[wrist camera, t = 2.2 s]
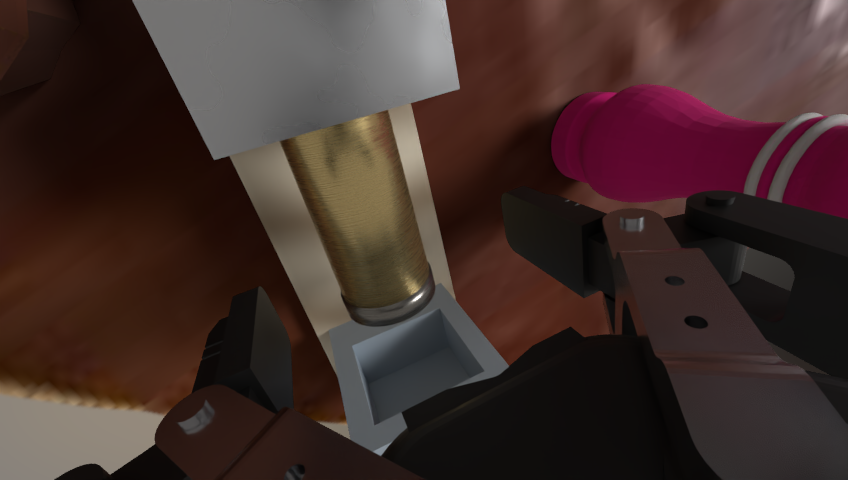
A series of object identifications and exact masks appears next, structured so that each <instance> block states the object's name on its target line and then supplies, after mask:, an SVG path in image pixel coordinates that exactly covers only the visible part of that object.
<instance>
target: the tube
mask: <svg viewBox="0 0 848 480" xmlns="http://www.w3.org/2000/svg"><path fill="white" fill-rule="evenodd" d="M279 142H280V145H281V147H282V149H283V152H284V154H285V157H286V159H287V161H288V164H289V166H290V169H291V171H292V174H293V176H294V178H295V181H296V183H297V186H298V188H299V190H300V193H301V195H302V198H303V200H304V203H305V205H306V207H307V210H308V212H309V215H310V217H311V219H312V222H313V224H314V227H315V229H316V232H317V234H318V236H319V239H320V241H321V244H322V246H323V249H324V251H325V253H326V256H327V258H328V261H329V263H330V265H331V268H332V270H333V273H334V275H335V278H336V280H337V282H338V285H339V287H340V290H341V298H342V300H343V302H344V305H345V307H346V310H347V312H348V314H349V316H350V318H351V319H352V320H353V321H355V322H356V323H358V324H361V325H364V326H370V327H382V326H389V325H393V324H397V323H400V322H402V321H405V320H407V319H409V318H411V317H413V316H414V315H416V314H418V313H419V312H420V311H422V310H423V309H424V308H425V307H426V306H427V305H428V304H429V303H430V301H431V300H432V298H433V296H434V293H435V288H436V286H435V281H434V277H433V273H432V269H431V266H430V264H429V262H428V261H427V258H426V254H425V250H424V246H423V243H422V239H421V235H420V231H419V227H418V223H417V219H416V216H415V212H414V208H413V204H412V200H411V196H410V192H409V189H408V185H407V181H406V177H405V173H404V169H403V165H402V162H401V158H400V154H399V150H398V146H397V142H396V138H395V135H394V131H393V127H392V123H391V119H390V115H389V111H388V110H385V111H382V112H378V113H375V114H371V115H368V116H364V117H361V118H357V119H354V120H351V121H347V122H344V123H340V124H337V125H333V126H330V127H327V128H323V129H320V130H316V131H313V132H309V133H306V134H302V135H299V136H296V137H292V138H289V139H285V140H282V141H279Z"/></svg>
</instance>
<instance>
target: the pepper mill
mask: <svg viewBox="0 0 848 480" xmlns="http://www.w3.org/2000/svg"><path fill="white" fill-rule="evenodd" d="M551 151H552V158H553V161H554V163H555V166H556V167H557V169H558V170H559V171H560V172H561V173H562V174H563V175H565V176H566V177H569V178H572V179H575V180H578V181H581V182H584V183H589V185H590V186H591V187H592V189H593V190H595V191H596V192H597V193H599V194H600V195H602V196H604V197H606V198H609V199H614V200H618V201H622V202H652V201H660V200H666V199H672V198H688V197H689V196H691V195H693V194H695V193H699V192H704V191H712V190H725V191H734V192H739V193H744V194H748V195H752V196H756V197H760V198H764V199H768V200H772V201H776V202H781V203H785V204H789V205H793V206H797V207H801V208H805V209H809V210H813V211H817V212H821V213H826V214H830V215H834V216H838V217H842V218H846V219H848V115H845V114H837V115H832V116H823V115H821V114H818V113H805V114H801V115H798V116H796V117H794V118H793V119H791V120H789V121H788V122H775V123H763V122H756V121H748V120H742V119H738V118H735V117H732V116H728V115H725V114H723V113H721V112H719V111H717V110H715V109H713V108H711V107H710V106H708V105H706V104H705V103H703V102H701V101H700V100H698V99H696V98H695V97H693V96H691V95H689V94H687V93H685V92H682V91H679V90H677V89H674V88H671V87H666V86H659V85H650V84H642V85H636V86H632V87H629V88H627V89H624V90H622V91H620V92H619V93H614V92H590V93H586V94H583V95H581V96H579V97H577V98H576V99H574V100H573V101H572V102H571V103H570V104H569V105H568V106H567V107H566V108H565V109H564V110H563V112H562V113H561V115H560V117H559V118H558V120H557V122H556V125H555V128H554V131H553V134H552V141H551Z"/></svg>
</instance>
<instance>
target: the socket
mask: <svg viewBox="0 0 848 480" xmlns="http://www.w3.org/2000/svg"><path fill="white" fill-rule="evenodd" d="M435 286H436V288H435V293H434V296H433V298H432V300H431V301H430V303H429V304H428V305H427V306H426V307H425V308H424V309H423V310H422V311H420V312H419V313H418V314H416V315H414V316H413V317H411V318H409V319H407V320H405V321H402V322H400V323H397V324H393V325H389V326H382V327H370V326H364V325H361V324H358V323H356V322H355V321H353V320H351V321H349V322H346V323H344V324H342V325H339V326H337V327H334V328H332V329H330V330H329V335H330V340H331V345H332V350H333V355H334V360H335V365H336V370H337V375H338V380H339V385H340V390H341V394H342V399H343V404H344V409H345V414H346V419H347V424H348V428H349V434H350V439H351V440H352V441H354V442H355V443H357V444H359V445H361V446H363V447H365V448H367V449H369V450H371V451H372V452H374V453H376V454H378V455H380V456H381V455H382V454H383V452H384V451H385V450H386V449H387V447H388V446H389V445H390V444H391V443H392V442H393V440H394V439H395V438H396V437H397V436H398V435H399V434H400V433H402V432H403V431H404V430H405V429H406V428H407V426H406V423H405V420H404V418H403V415H402V413H401V412H403V411H405V410H407V409H408V408H410V407H412V406H414V405H416V404H418V403H420V402H422V401H424V400H426V399H428V398H430V397H432V396H434V395H436V394H438V393H440V392H442V391H444V390H446V389H449V388H453V387H457V386H461V385H465V384H469V383H473V382H477V381H481V380H484V379H488V378H492V377H495V376H498V375H499V374H501V373H502V372H503V371H504V370H506V369H507V368H508V367H509V365H508V364H507V363H506V362H505V361H504V359H503V358H502V357H501V356H500V354H499V353H498V352H497V351H496V350H495V348H494V347H493V346H492V345H491V343H490V342H489V341H488V340H487V339H486V337H485V336H484V335H483V334H482V332H481V331H480V330H479V329H478V328H477V326H476V325H475V324H474V323H473V321H472V320H471V319H470V318H469V317H468V315H467V314H466V313H465V312H464V310H463V309H462V308H461V307H460V306H459V304H458V303H457V302H456V301H455V299H454V298H453V297H452V296H451V295H450V293H449V292H448V291H447V290H446V288H445V287H444V286H443V285H442V284H441V283H439V284H437V285H435Z"/></svg>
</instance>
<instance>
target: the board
mask: <svg viewBox="0 0 848 480" xmlns="http://www.w3.org/2000/svg"><path fill="white" fill-rule="evenodd" d="M388 111H389V115H390V119H391V123H392V127H393V131H394V135H395V138H396V142H397V146H398V150H399V154H400V158H401V162H402V165H403V169H404V173H405V177H406V181H407V185H408V189H409V192H410V196H411V200H412V204H413V208H414V212H415V216H416V219H417V223H418V227H419V231H420V235H421V239H422V243H423V246H424V250H425V254H426V258H427V261H428V262H429V264H430V266H431V269H432V273H433V277H434V281H435V285H437V284H439V283H441V284H442V285H443V286H444V287H445V288H446V290H447V291H448V292H449V293H450V295H451V296H452V297H453V298H454V299H455V295H454V290H453V286H452V282H451V277H450V273H449V269H448V264H447V260H446V255H445V251H444V247H443V242H442V238H441V234H440V229H439V225H438V220H437V216H436V212H435V207H434V203H433V199H432V194H431V190H430V185H429V181H428V177H427V172H426V168H425V164H424V159H423V155H422V151H421V146H420V142H419V137H418V133H417V129H416V124H415V120H414V116H413V111H412V107H411V103H409V104H406V105H402V106H399V107H395V108H392V109H388ZM230 158H231V160H232V162H233V164H234V166H235V168H236V170H237V173H238V175H239V177H240V179H241V181H242V183H243V185H244V187H245V189H246V191H247V193H248V195H249V197H250V199H251V201H252V203H253V205H254V207H255V209H256V211H257V213H258V216H259V218H260V220H261V222H262V224H263V226H264V228H265V230H266V232H267V234H268V236H269V238H270V240H271V242H272V244H273V246H274V248H275V250H276V252H277V254H278V256H279V258H280V261H281V263H282V265H283V267H284V269H285V271H286V273H287V275H288V277H289V279H290V281H291V283H292V285H293V287H294V289H295V291H296V293H297V295H298V297H299V299H300V301H301V303H302V306H303V308H304V310H305V312H306V314H307V316H308V318H309V320H310V322H311V324H312V326H313V328H314V330H315V332H316V334H317V336H318V338H319V340H320V342H321V344H322V346H323V349H324V351H325V353H326V355H327V357H328V359H329V361H330V363H331V365H332V367H333V369H334V371H335V373H336V375H337V370H336V365H335V360H334V355H333V350H332V345H331V340H330V335H329V330H330V329H332V328H334V327H337V326H339V325H342V324H344V323H346V322H349V321H351V320H352V319H351V318H350V316H349V314H348V312H347V310H346V307H345V305H344V302H343V300H342V298H341V290H340V287H339V285H338V282H337V280H336V278H335V275H334V273H333V270H332V268H331V265H330V263H329V261H328V258H327V256H326V253H325V251H324V249H323V246H322V244H321V241H320V239H319V236H318V234H317V232H316V229H315V227H314V224H313V222H312V219H311V217H310V215H309V212H308V210H307V207H306V205H305V203H304V200H303V198H302V195H301V193H300V190H299V188H298V186H297V183H296V181H295V178H294V176H293V174H292V171H291V169H290V166H289V164H288V161H287V159H286V157H285V154H284V152H283V149H282V147H281V145H280V142H279V141H278V142H275V143H272V144H268V145H265V146H261V147H258V148H254V149H251V150H247V151H244V152H241V153H237V154H234V155H230ZM455 301H456V299H455ZM337 377H338V375H337Z"/></svg>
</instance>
